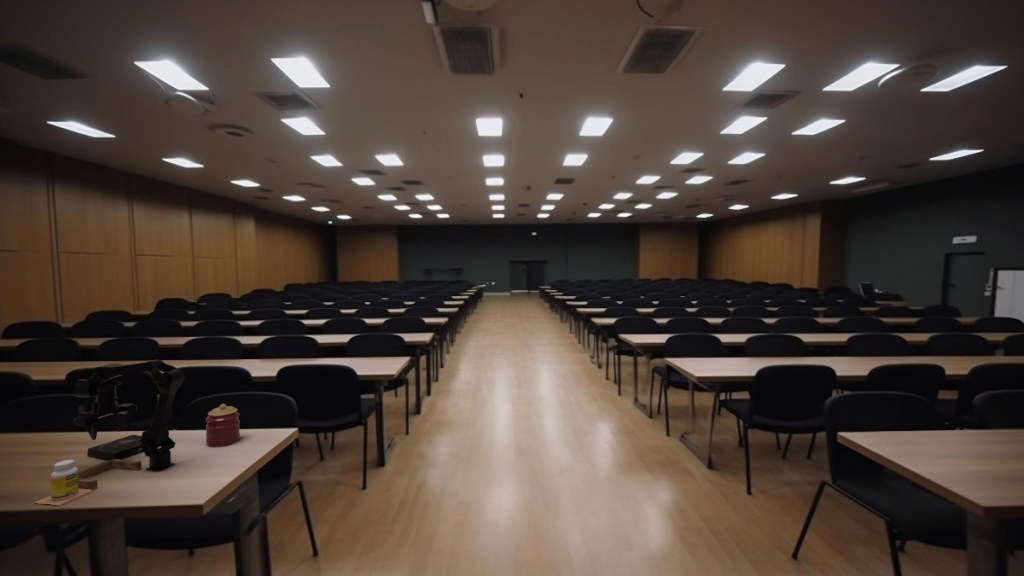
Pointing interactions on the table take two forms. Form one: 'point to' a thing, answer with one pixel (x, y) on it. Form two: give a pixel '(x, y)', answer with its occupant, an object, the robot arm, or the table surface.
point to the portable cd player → (117, 448)
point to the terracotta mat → (63, 501)
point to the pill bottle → (64, 480)
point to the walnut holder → (102, 467)
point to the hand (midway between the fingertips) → (107, 435)
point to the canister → (222, 426)
